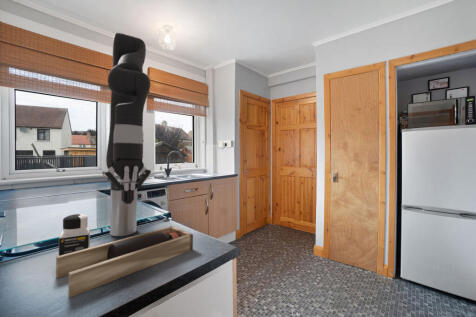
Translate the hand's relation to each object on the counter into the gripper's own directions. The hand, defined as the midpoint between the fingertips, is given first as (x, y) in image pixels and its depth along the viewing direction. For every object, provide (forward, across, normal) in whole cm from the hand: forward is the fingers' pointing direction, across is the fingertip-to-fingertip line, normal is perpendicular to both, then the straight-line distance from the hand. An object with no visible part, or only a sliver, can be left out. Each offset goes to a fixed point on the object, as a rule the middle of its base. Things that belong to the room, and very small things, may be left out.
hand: (127, 203), depth 62 cm
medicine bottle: (+18, +8, -17) cm, 26 cm away
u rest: (+17, -2, 0) cm, 17 cm away
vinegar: (+14, +4, 0) cm, 14 cm away
